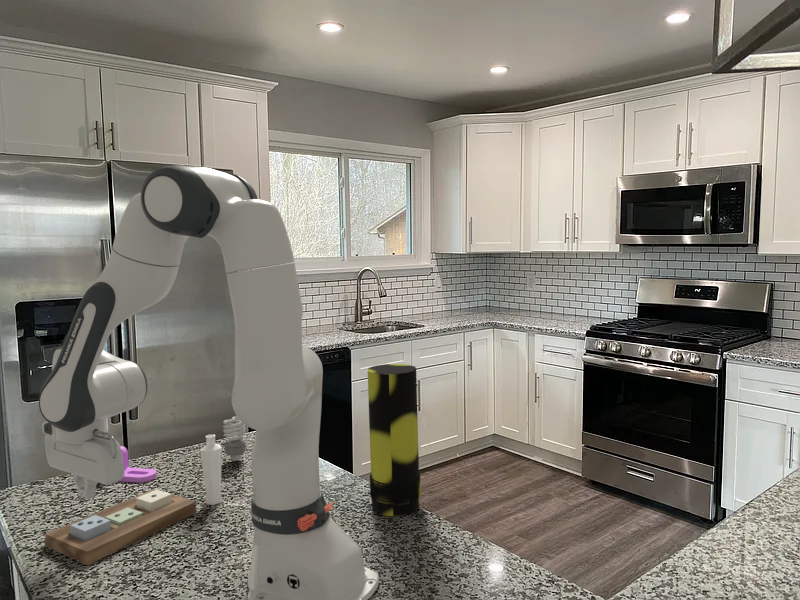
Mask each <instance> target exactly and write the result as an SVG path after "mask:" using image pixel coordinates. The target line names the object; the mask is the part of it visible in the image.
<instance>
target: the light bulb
mask: <svg viewBox="0 0 800 600" xmlns="http://www.w3.org/2000/svg"><path fill="white" fill-rule="evenodd" d="M222 424H224V425H222V428H223V429H222V432H223V433H224V434H223V436H224V437H227V438H228V439H227V441H225V442H224V453H225V454H226V455H227V456H229V457H230V459H231V461H233V462H238V461H239V460H240V459H241V455H242V454H244V453H245V452H246V441H245V439H243V437H244V436H245V434H246V431H245V430H246V427H245V426H246V425H245V424H244V423H242V422H241V421H240V420H239V418H238V417H237V416H232V418H231V419H225V420H223V423H222Z"/></svg>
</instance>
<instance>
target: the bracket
mask: <svg viewBox="0 0 800 600" xmlns="http://www.w3.org/2000/svg"><path fill="white" fill-rule="evenodd" d="M120 447H121V452H122V457H123V464H124V476H123V478H122V480H120V481H119V482H125V483H126V482H127V483H129V482H130V483H146V482H150V481H153V480H155V479H156V478H158V475H157V473H158V472H157V469H154V468H144V467H143V468H141V467H130V464H129V463H130V462H129V452H128V451H129V450H128V449H127V448H126V447H125V446H124V445H120Z"/></svg>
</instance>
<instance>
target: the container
mask: <svg viewBox="0 0 800 600" xmlns="http://www.w3.org/2000/svg"><path fill="white" fill-rule="evenodd" d="M417 380H418V378H417V367H416V366H414V365H411V364H406V363H405V364H404V363H403V364H402V363H387V364H386V363H385V364H378V365H373V366H370V367H368V368H367V389H368V390H367V393H368V422H369V423H368V424H369V426H368V429H369V451H370V456H369V458H370V474H369V491H370V494H369V495H370V498H371V507H372V509H373V511H374V512H376V513H377V514H379V515H382V516H385V517H405V516H407V515H411V514H413V513H414V512H416V511H417V510H419V508H420V506H421V505H420V504H421V501H420V500H421V496H422V495H421V494H422V493H421V492H422V491H421V489H422V488H421V474H420V473H421V472H420V463H419V462H420V461H419V460H420V458H419V425H418V424H419V423H418V422H419V421H418V420H419V418H418V386H417V385H418V384H417V382H418V381H417Z"/></svg>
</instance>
